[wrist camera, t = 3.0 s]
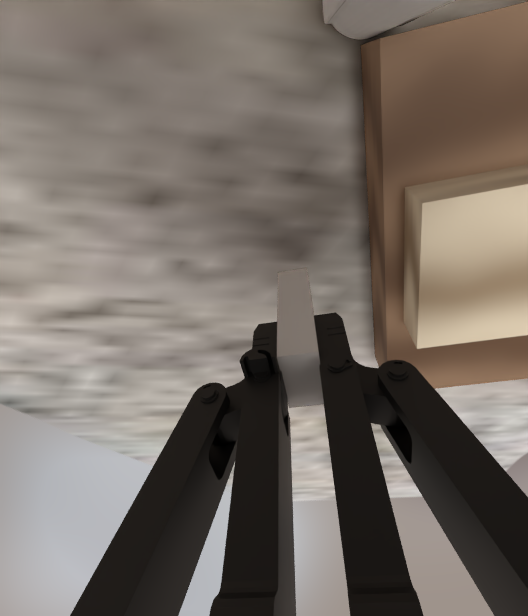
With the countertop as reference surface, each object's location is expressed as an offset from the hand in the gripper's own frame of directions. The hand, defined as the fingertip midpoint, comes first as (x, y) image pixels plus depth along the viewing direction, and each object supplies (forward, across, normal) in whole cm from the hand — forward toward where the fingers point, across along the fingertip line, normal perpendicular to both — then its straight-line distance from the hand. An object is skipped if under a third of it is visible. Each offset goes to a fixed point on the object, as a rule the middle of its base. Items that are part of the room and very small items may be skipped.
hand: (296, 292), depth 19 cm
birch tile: (+1, +10, 0) cm, 10 cm away
